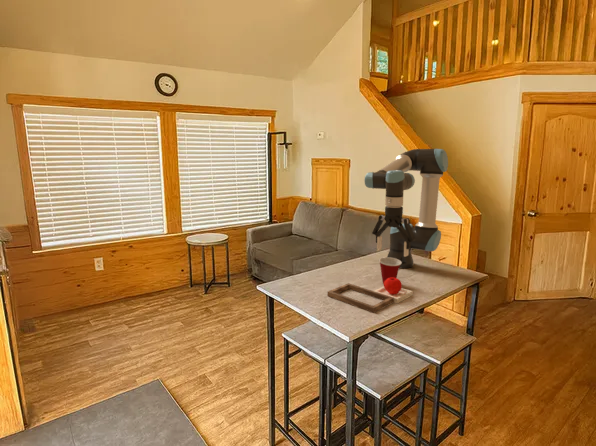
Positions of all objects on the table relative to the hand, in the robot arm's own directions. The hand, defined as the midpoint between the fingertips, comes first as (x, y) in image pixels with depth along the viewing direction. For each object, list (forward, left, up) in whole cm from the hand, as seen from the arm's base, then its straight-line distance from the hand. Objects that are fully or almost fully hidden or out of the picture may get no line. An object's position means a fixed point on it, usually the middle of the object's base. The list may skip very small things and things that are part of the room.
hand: (392, 252), depth 168 cm
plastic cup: (-10, -7, -19) cm, 23 cm away
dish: (+2, +2, -19) cm, 19 cm away
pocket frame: (+15, -6, -19) cm, 25 cm away
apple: (+1, +2, -19) cm, 19 cm away
